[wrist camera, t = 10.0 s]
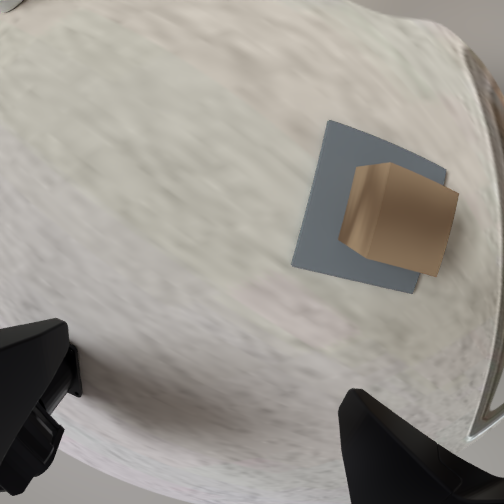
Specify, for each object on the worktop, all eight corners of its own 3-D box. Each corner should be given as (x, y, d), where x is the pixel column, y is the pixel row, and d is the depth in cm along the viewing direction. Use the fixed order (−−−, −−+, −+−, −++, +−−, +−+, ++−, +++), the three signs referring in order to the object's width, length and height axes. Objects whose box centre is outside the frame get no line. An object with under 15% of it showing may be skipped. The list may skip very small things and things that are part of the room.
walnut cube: (398, 256, 19) (436, 277, 14) (337, 239, 18) (366, 258, 13) (416, 189, 18) (458, 193, 13) (356, 166, 17) (390, 162, 12)
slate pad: (409, 291, 20) (412, 293, 19) (290, 264, 19) (291, 266, 19) (442, 169, 18) (446, 169, 17) (327, 121, 17) (329, 119, 17)
